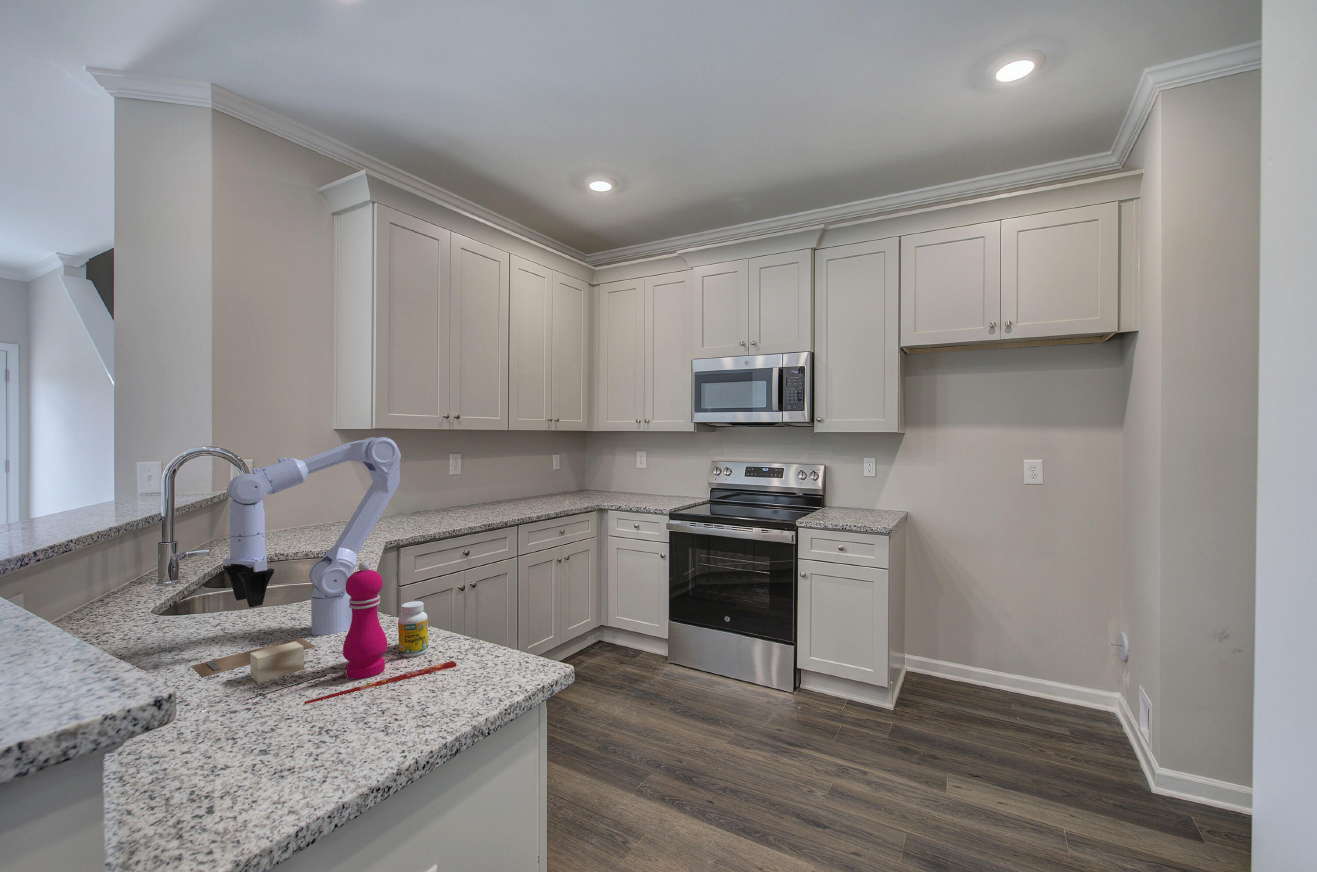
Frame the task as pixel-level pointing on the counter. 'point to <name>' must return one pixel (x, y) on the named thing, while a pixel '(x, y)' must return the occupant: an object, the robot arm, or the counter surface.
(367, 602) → the pepper mill
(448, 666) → the chopstick
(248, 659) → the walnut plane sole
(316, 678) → the slate mat
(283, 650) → the cap
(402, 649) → the supplement bottle
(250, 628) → the counter surface
